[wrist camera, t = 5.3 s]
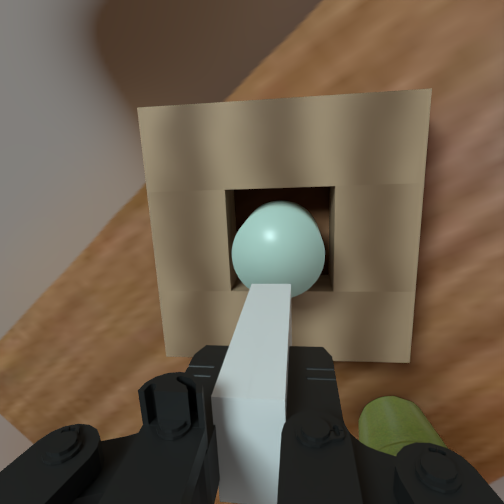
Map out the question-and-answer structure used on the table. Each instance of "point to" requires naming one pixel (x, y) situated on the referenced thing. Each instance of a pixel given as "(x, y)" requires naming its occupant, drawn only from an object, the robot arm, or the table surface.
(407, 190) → the dock
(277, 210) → the pale mint egg
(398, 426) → the plant pot
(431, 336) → the table surface
